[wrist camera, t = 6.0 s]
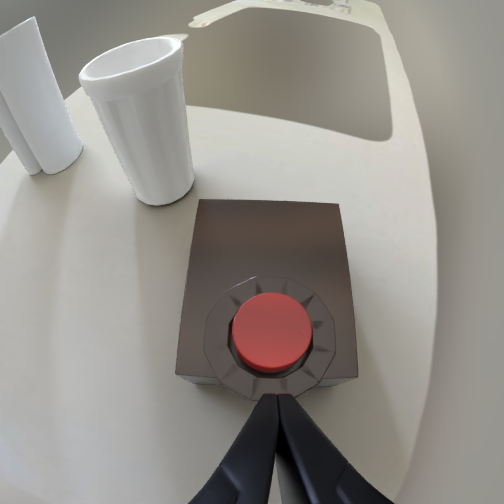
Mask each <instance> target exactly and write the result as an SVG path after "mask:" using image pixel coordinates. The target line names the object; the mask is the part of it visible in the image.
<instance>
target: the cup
mask: <svg viewBox="0 0 504 504" xmlns="http://www.w3.org/2000/svg"><path fill="white" fill-rule="evenodd" d="M182 64H183V43H182V42H181V41H179V40H177V39H175V38H169V37H156V38H149V39H142V40H138V41H134V42H131V43H127V44H124V45H121V46H119V47H116V48H114V49H111V50H109V51H107V52H105V53H103V54H101V55H100V56H98V57H96V58H95V59H93V60H92V61H91V62H89V63H88V64H87V65H85V66H84V68H83V69H82V71H81V72H80V74H79V81H80V84H81V85H82V87H83V89H84V91H85V93H86V94H87V95H88V96H89V97H90V98H91V100H92V103H93V105H94V107H95V110H96V112H97V114H98V117H99V119H100V121H101V123H102V126H103V128H104V130H105V132H106V134H107V136H108V139H109V141H110V143H111V145H112V147H113V149H114V151H115V154H116V156H117V158H118V160H119V162H120V164H121V166H122V168H123V170H124V172H125V174H126V176H127V178H128V180H129V182H130V184H131V186H132V188H133V190H134V192H135V194H136V196H137V197H138V199H139V200H141V201H142V202H144V203H146V204H150V205H163V204H169V203H172V202H174V201H176V200H178V199H179V198H181V197H183V196H184V195H185V194H186V193H187V192H188V191H189V190H190V189H191V186H192V184H193V182H194V171H193V164H192V156H191V148H190V140H189V132H188V124H187V115H186V106H185V96H184V88H183V87H184V86H183V76H182Z"/></svg>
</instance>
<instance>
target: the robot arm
mask: <svg viewBox="0 0 504 504" xmlns="http://www.w3.org/2000/svg"><path fill="white" fill-rule="evenodd" d="M275 459H276V467H277V473H278V480H279V486H280V492H281V499H282V504H394V503H393V502H392V501H390V500H389V499H388V498H386V497H385V496H384V495H383V494H381V493H380V492H379V491H378V490H376V489H375V488H374V487H373V486H372V485H371V484H370V483H368V482H367V481H366V480H365V479H364V478H363V477H362V476H361V475H360V474H359V473H358V472H357V471H356V470H355V468H354V467H353V466H352V465H351V464H350V463H348V461H347V460H346V458H345V457H344V456H343V455H342V454H341V453H340V452H339V450H338V449H337V448H336V447H335V446H334V445H333V444H332V442H331V441H330V440H329V439H328V438H327V437H326V435H325V434H324V433H323V432H322V431H321V430H320V428H319V427H318V426H317V425H316V424H315V422H314V421H313V420H312V419H311V418H310V416H309V415H308V414H307V413H306V412H305V410H304V409H303V408H302V407H301V406H300V404H299V403H298V402H297V401H296V399H295V398H294V397H293V396H292V395H291V394H289V393H279V394H278V395H276V394H275V393H264V394H263V395H262V396H261V398H260V400H259V401H258V403H257V405H256V406H255V408H254V410H253V412H252V413H251V415H250V417H249V418H248V420H247V422H246V423H245V425H244V426H243V428H242V430H241V431H240V433H239V435H238V436H237V438H236V439H235V441H234V443H233V444H232V446H231V447H230V449H229V450H228V452H227V454H226V455H225V457H224V458H223V460H222V461H221V463H220V464H219V467H217V469H216V470H215V472H214V473H213V474H212V476H211V477H210V479H209V480H208V481H207V483H206V484H205V485H204V487H203V488H202V489H201V490H200V491H199V492H198V493H197V494H196V496H195V497H194V498H193V499H192V500H191V501H190V502H189V503H188V504H268V499H269V493H270V487H271V481H272V475H273V468H274V461H275Z"/></svg>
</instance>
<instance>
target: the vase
mask: <svg viewBox="0 0 504 504" xmlns="http://www.w3.org/2000/svg"><path fill="white" fill-rule="evenodd" d="M0 127H1V129H2V130H3V132H4V134H5V136H6V137H7V139H8V141H9V143H10V144H11V146H12V148H13V149H14V151H15V153H16V154H17V156H18V158H19V159H20V161H21V162H22V164H23V166H24V167H25V169H26V170H27V172H28V173H29V175H31V176H32V175H36V174H37V173H39V172H40V171H41V170H42V169H43V171H44V172H45V173H46V174H55V173H58V172H61V171H62V170H64V169H66V168H67V167H69V166H70V165H71V164H72V163H73V162H74V161H75V160H76V159H77V158H78V157H79V155H80V154H81V152H82V149H83V143H82V141H81V139H80V137H79V135H78V132H77V130H76V128H75V126H74V123H73V121H72V119H71V117H70V114H69V112H68V109H67V107H66V105H65V102H64V100H63V97H62V95H61V92H60V90H59V87H58V84H57V82H56V79H55V77H54V74H53V71H52V68H51V66H50V63H49V60H48V57H47V54H46V51H45V48H44V45H43V42H42V39H41V35H40V32H39V29H38V25H37V22H36V18H35V16H34V17H32V18H30V19H28V20H26V21H24V22H23V23H21V24H19V25H17V26H15V27H14V28H12V29H10V30H9V31H7V32H6V33H4V34H2V35H1V36H0Z"/></svg>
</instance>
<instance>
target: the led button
mask: <svg viewBox="0 0 504 504" xmlns="http://www.w3.org/2000/svg"><path fill="white" fill-rule="evenodd" d="M232 335H233V340H234V344H235V348H236V351H237V353H238V355H239V356H240V358H241V359H242V360H243V362H244V363H245V364H247V365H248V366H249V367H251V368H252V369H254V370H257V371H260V372H264V373H277V372H281V371H284V370H286V369H288V368H290V367H292V366H293V365H294V364H295V363H296V362H297V361H298V360H299V359H300V358H301V357H302V356H303V354H304V353H305V352H306V350H307V349H308V347H309V345H310V342H311V338H312V324H311V320H310V317H309V315H308V313H307V311H306V310H305V308H304V307H303V306H302V305H301V304H300V303H299V302H298V301H296V300H295V299H293V298H292V297H289V296H287V295H284V294H280V293H263V294H259V295H257V296H254V297H252V298H251V299H249V300H248V301H246V302H245V303H244V304H243V305H242V306H241V307H240V308H239V310H238V311H237V313H236V315H235V318H234V321H233V326H232Z"/></svg>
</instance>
